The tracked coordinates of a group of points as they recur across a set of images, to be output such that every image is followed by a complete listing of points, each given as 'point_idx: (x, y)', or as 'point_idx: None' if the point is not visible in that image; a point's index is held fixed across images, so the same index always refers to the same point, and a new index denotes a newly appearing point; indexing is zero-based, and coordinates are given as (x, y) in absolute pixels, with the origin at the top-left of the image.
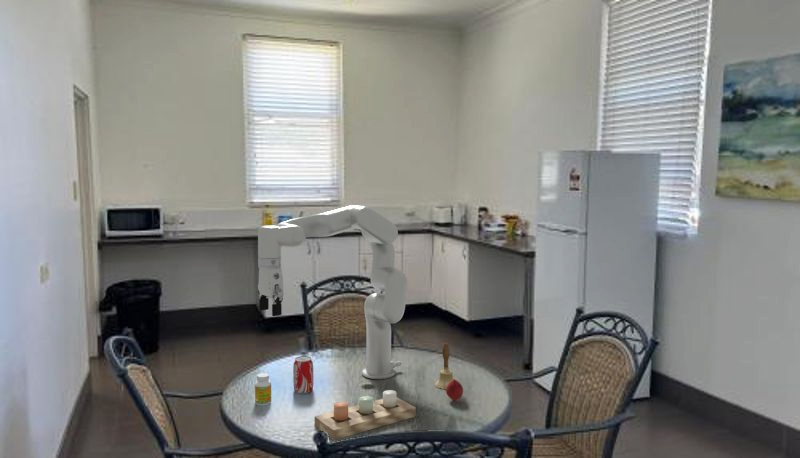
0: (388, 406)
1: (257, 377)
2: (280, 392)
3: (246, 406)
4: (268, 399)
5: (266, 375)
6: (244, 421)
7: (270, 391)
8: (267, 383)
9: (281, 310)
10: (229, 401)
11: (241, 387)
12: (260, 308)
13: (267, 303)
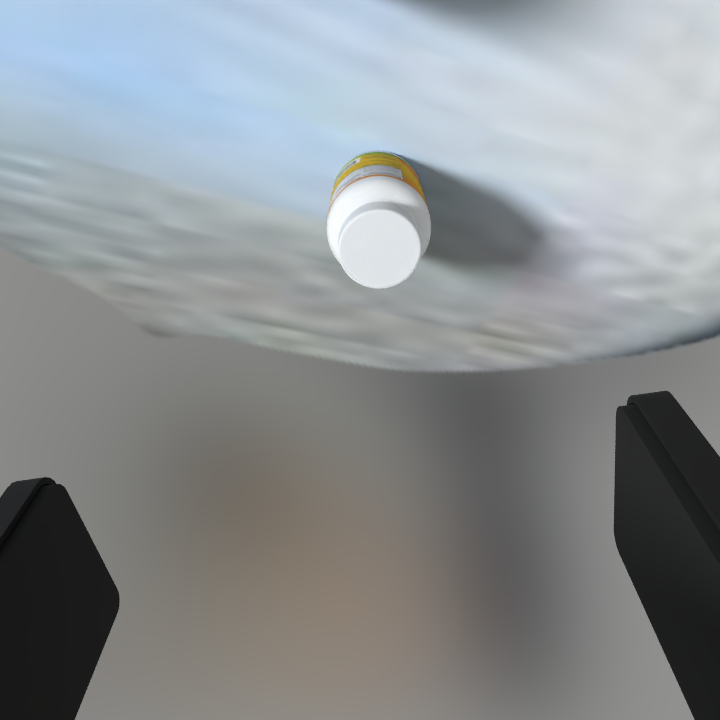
0: None
1: (387, 285)
2: (257, 49)
3: None
4: (420, 184)
5: (399, 230)
6: (556, 332)
7: (411, 178)
8: (424, 217)
9: (705, 443)
10: (282, 340)
11: (96, 245)
12: (109, 630)
13: (10, 594)
